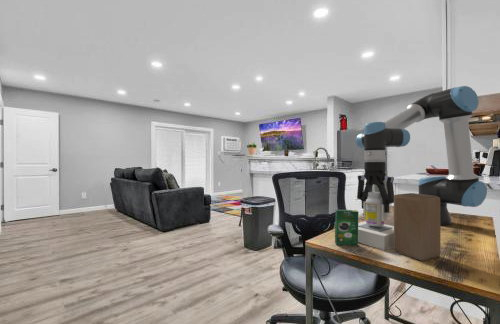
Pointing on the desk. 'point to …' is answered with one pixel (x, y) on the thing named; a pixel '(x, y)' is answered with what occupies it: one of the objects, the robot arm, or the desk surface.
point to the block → (417, 225)
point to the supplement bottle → (374, 209)
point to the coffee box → (346, 227)
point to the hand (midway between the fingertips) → (375, 218)
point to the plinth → (376, 235)
